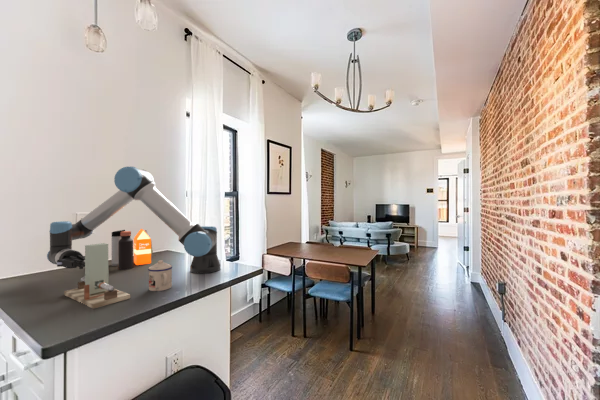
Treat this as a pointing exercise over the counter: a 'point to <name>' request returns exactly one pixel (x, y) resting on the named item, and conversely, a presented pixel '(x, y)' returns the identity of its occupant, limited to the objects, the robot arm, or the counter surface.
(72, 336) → the counter surface
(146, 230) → the squeeze bottle
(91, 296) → the rail base
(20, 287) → the counter surface
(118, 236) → the travel mug
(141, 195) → the robot arm
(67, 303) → the counter surface
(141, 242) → the orange juice
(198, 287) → the counter surface
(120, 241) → the vinegar
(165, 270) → the teacup with lid
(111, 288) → the steel rod
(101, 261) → the pale green block
